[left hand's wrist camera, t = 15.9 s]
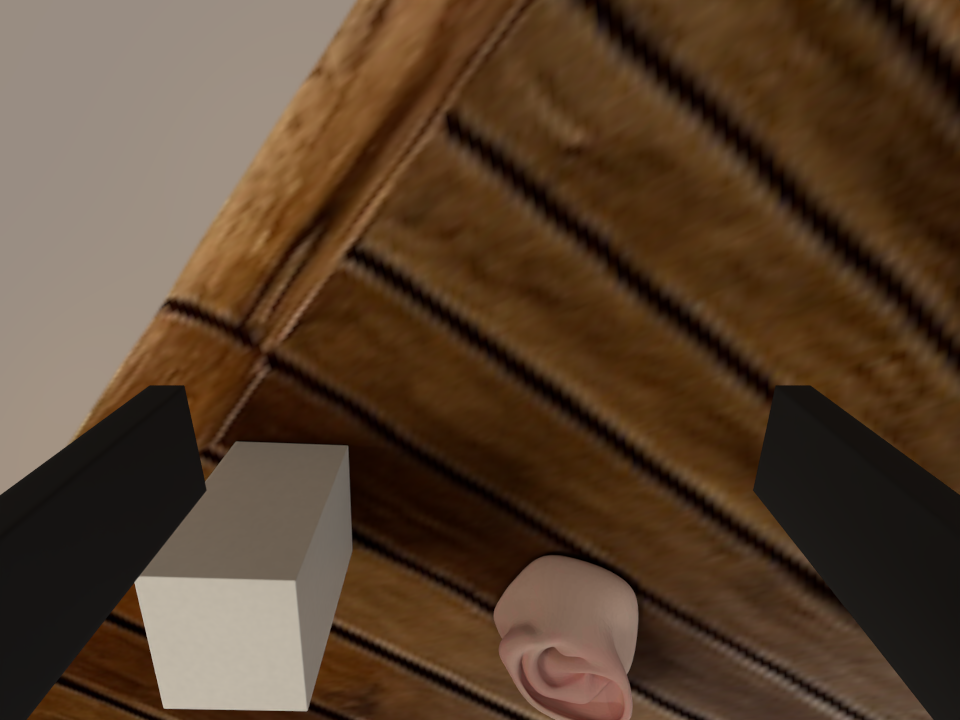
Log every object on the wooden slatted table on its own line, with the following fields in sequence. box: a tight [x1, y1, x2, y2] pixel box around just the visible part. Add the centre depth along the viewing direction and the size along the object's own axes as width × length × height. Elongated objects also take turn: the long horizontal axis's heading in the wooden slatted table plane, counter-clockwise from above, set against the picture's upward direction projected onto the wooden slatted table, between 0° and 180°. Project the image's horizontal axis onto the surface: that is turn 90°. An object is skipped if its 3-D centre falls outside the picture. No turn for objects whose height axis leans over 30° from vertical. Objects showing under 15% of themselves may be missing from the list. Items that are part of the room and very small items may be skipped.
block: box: [135, 441, 352, 711], centre depth 32 cm, size 9×7×12 cm
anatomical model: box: [494, 555, 638, 720], centre depth 40 cm, size 13×4×12 cm
